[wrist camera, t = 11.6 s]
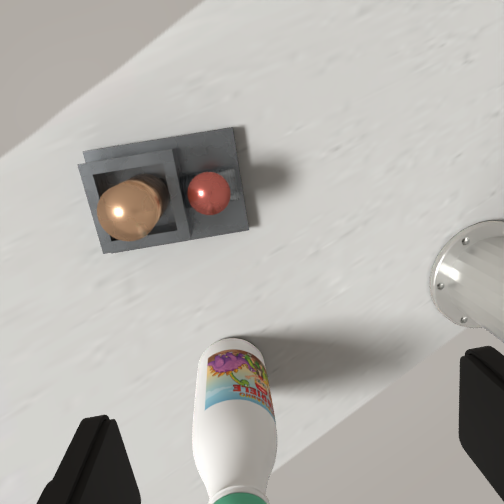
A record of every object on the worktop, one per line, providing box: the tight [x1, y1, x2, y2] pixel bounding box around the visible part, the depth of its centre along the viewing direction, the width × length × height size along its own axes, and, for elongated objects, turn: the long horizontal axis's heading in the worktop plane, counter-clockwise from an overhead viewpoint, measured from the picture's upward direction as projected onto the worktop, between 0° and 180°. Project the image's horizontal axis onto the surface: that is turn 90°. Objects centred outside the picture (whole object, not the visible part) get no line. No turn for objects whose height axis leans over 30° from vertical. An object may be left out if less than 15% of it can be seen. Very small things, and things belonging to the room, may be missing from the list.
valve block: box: [78, 127, 249, 254], centre depth 35 cm, size 14×10×6 cm
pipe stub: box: [97, 174, 169, 241], centre depth 33 cm, size 4×4×8 cm
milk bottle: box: [192, 338, 277, 504], centre depth 35 cm, size 8×8×20 cm
